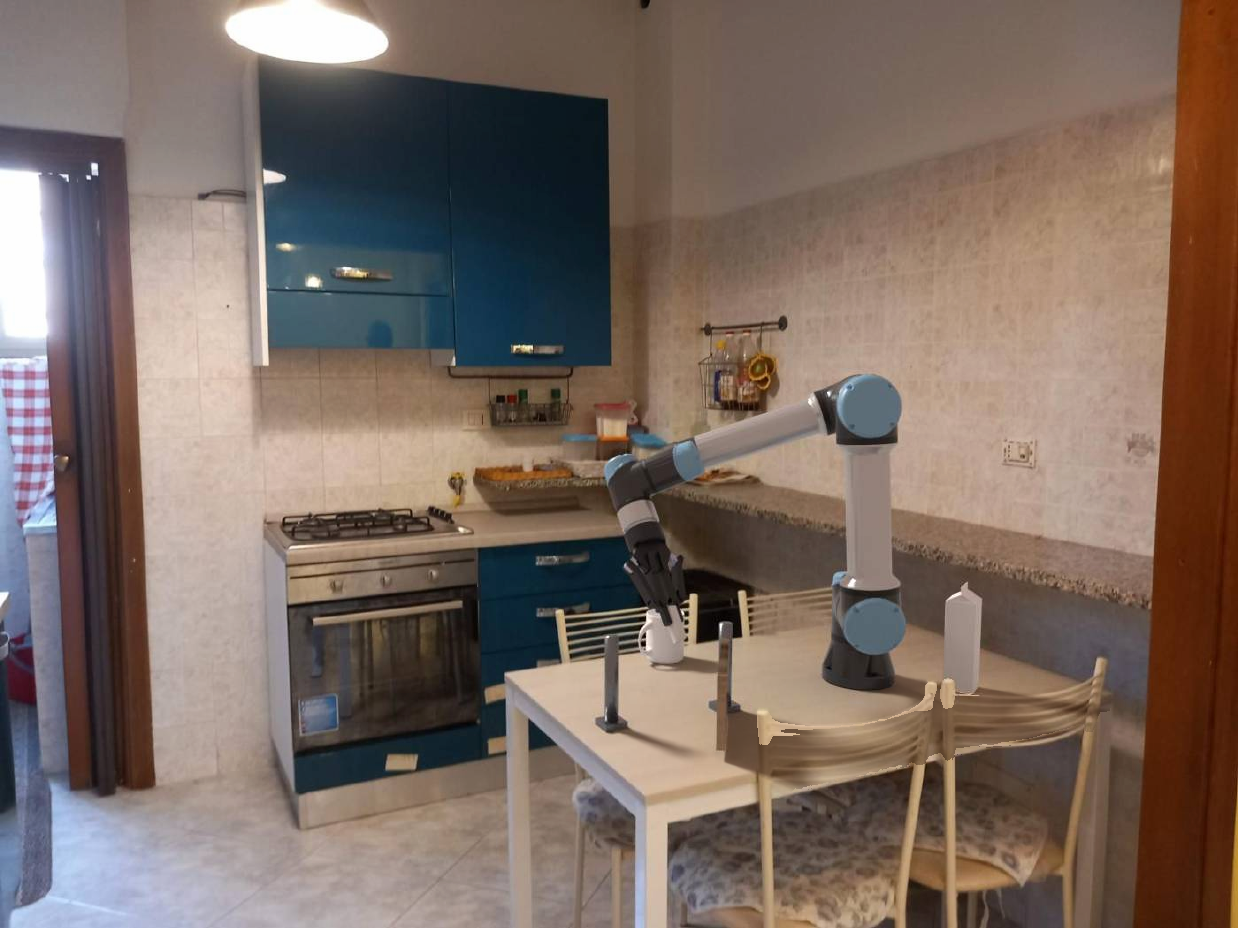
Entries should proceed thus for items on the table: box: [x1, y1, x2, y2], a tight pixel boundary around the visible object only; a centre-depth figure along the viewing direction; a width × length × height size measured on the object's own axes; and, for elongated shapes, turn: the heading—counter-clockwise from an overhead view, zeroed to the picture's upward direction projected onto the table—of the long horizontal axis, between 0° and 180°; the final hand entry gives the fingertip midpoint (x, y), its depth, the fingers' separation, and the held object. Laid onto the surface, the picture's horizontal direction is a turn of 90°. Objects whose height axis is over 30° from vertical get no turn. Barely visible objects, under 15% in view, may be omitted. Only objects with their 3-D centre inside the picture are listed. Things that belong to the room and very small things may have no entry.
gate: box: [715, 638, 729, 752], centre depth 168 cm, size 22×2×13 cm, turn 172°
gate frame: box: [594, 621, 742, 733], centre depth 176 cm, size 28×7×17 cm, turn 118°
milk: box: [942, 581, 983, 694], centre depth 192 cm, size 6×6×22 cm
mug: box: [638, 609, 685, 665], centre depth 211 cm, size 9×12×11 cm
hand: (680, 640), depth 173 cm, fingers closed
